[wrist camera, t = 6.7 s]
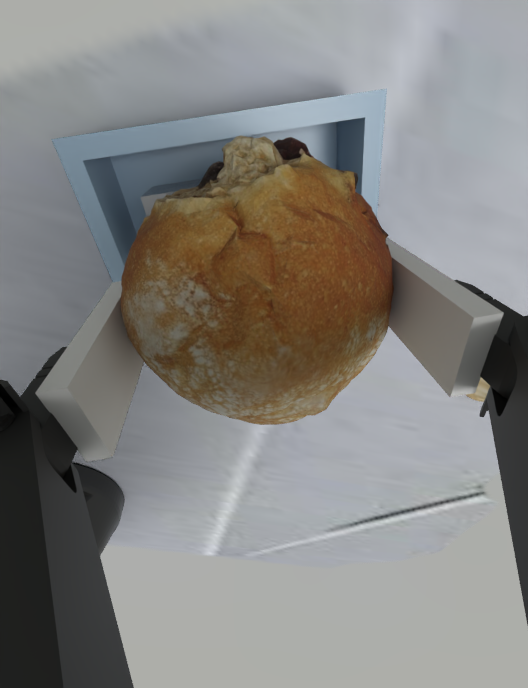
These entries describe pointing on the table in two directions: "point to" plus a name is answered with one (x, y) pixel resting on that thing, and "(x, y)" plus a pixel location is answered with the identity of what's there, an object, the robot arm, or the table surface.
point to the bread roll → (260, 284)
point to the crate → (211, 157)
